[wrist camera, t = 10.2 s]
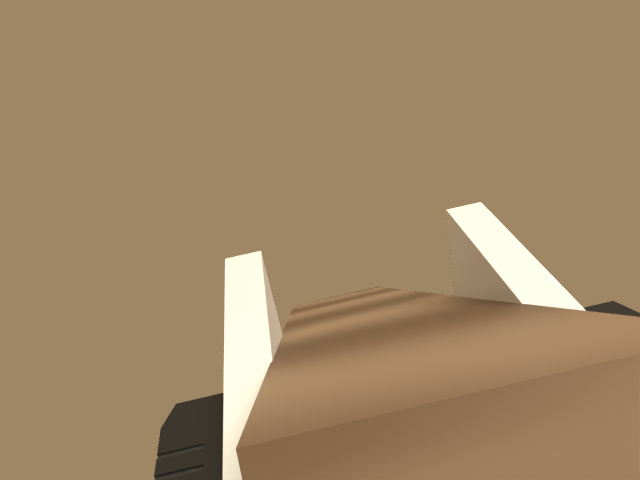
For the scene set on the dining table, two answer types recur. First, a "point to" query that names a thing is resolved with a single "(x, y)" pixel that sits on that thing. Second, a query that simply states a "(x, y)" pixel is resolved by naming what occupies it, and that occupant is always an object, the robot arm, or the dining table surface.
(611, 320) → the walnut bar
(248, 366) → the robot arm
